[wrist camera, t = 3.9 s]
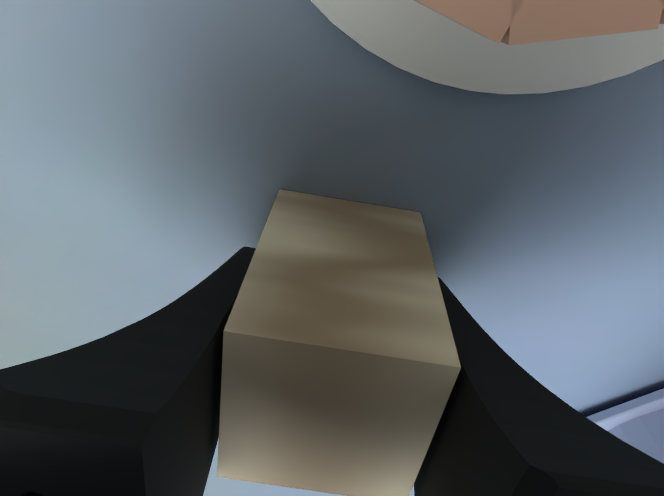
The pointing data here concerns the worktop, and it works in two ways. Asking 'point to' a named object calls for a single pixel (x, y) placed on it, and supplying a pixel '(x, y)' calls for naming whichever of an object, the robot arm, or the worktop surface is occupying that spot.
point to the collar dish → (490, 58)
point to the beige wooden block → (335, 351)
